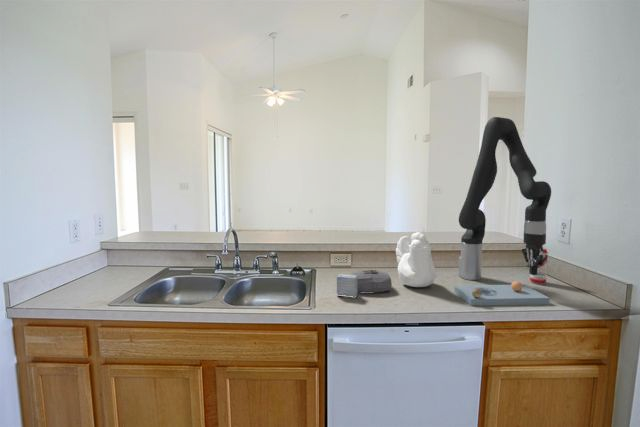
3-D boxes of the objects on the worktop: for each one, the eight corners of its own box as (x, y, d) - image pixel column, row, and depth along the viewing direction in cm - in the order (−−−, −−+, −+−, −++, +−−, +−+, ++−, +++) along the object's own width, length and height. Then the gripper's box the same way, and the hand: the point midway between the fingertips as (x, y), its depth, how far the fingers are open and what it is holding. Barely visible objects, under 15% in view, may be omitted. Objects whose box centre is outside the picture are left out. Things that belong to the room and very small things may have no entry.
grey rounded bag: (386, 283, 159) (343, 284, 158) (386, 265, 158) (343, 267, 157) (394, 294, 144) (347, 296, 143) (394, 275, 143) (347, 276, 142)
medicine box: (357, 295, 144) (357, 275, 143) (355, 298, 139) (355, 278, 138) (339, 293, 146) (339, 273, 145) (336, 296, 142) (336, 276, 141)
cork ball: (469, 296, 132) (469, 288, 132) (475, 295, 134) (476, 286, 133) (477, 299, 129) (477, 290, 129) (483, 298, 131) (484, 289, 130)
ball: (508, 290, 139) (509, 280, 138) (515, 288, 140) (515, 279, 140) (518, 293, 135) (518, 283, 135) (524, 291, 137) (524, 282, 136)
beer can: (548, 285, 152) (550, 249, 150) (533, 284, 153) (535, 249, 151) (542, 280, 158) (544, 246, 156) (527, 280, 159) (529, 246, 157)
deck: (524, 290, 146) (524, 284, 146) (549, 304, 130) (549, 297, 130) (454, 291, 146) (454, 285, 146) (470, 305, 130) (470, 299, 130)
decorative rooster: (442, 290, 147) (443, 234, 144) (407, 292, 145) (407, 235, 142) (419, 274, 172) (420, 225, 169) (389, 275, 170) (389, 226, 167)
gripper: (515, 229, 142) (514, 270, 143) (535, 234, 129) (534, 279, 130) (533, 229, 142) (532, 270, 143) (555, 234, 129) (553, 279, 130)
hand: (533, 274), depth 137 cm, fingers closed
